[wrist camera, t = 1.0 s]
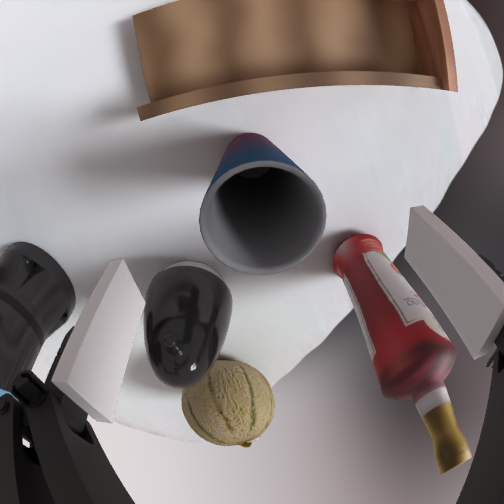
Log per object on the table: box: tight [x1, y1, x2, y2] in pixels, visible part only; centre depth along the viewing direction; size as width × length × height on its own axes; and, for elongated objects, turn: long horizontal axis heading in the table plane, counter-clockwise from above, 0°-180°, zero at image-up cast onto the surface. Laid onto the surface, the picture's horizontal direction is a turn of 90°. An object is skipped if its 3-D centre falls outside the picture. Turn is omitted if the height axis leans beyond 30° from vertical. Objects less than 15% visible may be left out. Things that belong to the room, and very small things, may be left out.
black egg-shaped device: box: [143, 261, 232, 389], centre depth 29 cm, size 10×10×15 cm
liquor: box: [333, 234, 472, 474], centre depth 23 cm, size 7×7×28 cm
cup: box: [199, 133, 326, 275], centre depth 21 cm, size 7×7×15 cm
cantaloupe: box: [182, 360, 275, 447], centre depth 40 cm, size 15×15×15 cm
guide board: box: [133, 0, 458, 121], centre depth 18 cm, size 28×11×7 cm, turn 100°
